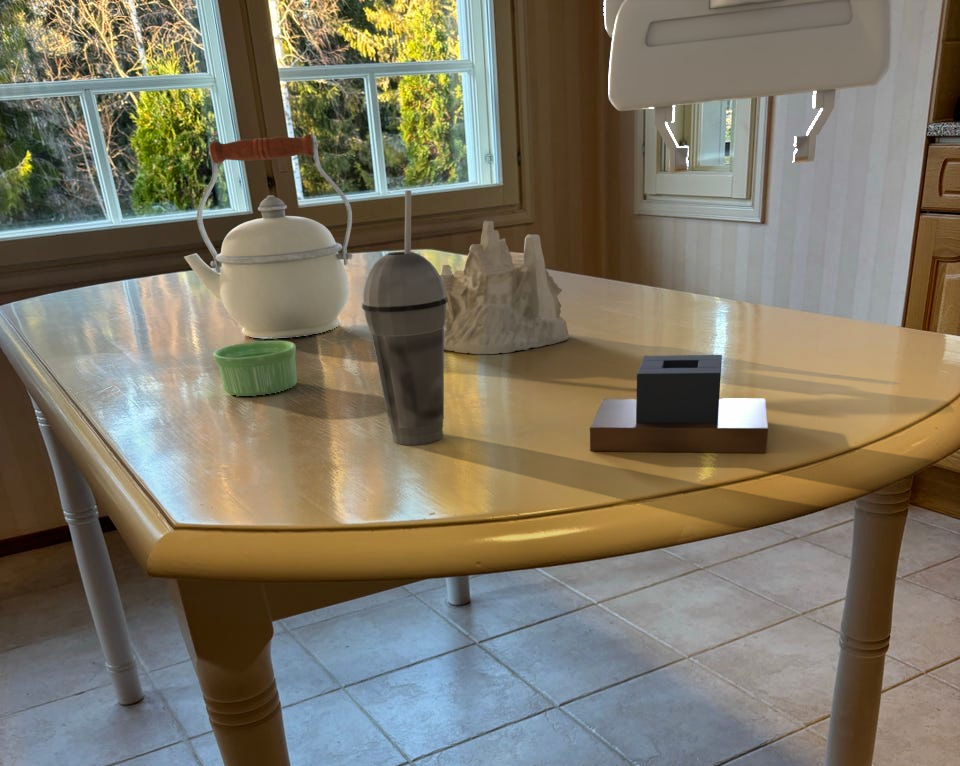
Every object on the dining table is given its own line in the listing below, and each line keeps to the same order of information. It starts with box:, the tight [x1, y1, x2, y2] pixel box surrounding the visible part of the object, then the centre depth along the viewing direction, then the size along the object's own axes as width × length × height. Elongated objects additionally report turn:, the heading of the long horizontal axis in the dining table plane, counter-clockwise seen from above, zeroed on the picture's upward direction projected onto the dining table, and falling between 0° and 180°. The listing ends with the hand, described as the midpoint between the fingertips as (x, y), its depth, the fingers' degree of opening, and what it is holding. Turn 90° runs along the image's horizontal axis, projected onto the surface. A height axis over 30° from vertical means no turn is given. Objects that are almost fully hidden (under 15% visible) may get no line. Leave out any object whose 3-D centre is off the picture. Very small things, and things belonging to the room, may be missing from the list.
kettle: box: [183, 133, 353, 338], centre depth 130 cm, size 25×18×25 cm
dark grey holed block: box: [635, 354, 723, 423], centre depth 77 cm, size 6×6×4 cm
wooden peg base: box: [589, 397, 769, 454], centre depth 78 cm, size 14×9×5 cm, turn 76°
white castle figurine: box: [439, 220, 570, 356], centre depth 116 cm, size 16×16×15 cm
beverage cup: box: [361, 190, 448, 446], centre depth 79 cm, size 7×7×20 cm
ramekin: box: [212, 340, 298, 397], centre depth 103 cm, size 9×9×4 cm
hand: (740, 167), depth 73 cm, fingers open, 8 cm apart
